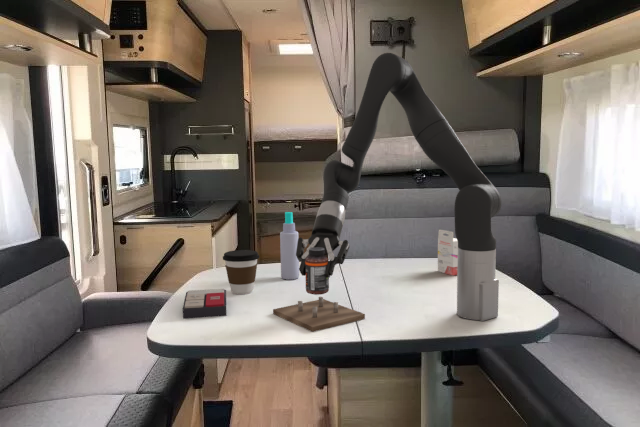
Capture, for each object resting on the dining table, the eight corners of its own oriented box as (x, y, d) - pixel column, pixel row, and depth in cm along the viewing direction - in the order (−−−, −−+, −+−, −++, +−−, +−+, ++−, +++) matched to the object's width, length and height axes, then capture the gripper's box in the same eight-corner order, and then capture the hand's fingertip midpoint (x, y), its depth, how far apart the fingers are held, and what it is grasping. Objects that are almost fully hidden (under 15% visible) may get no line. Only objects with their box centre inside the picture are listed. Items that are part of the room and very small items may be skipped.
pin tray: (364, 318, 136) (364, 304, 136) (312, 331, 127) (312, 316, 127) (322, 303, 151) (322, 290, 151) (273, 313, 142) (272, 299, 141)
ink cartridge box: (464, 274, 183) (465, 231, 181) (452, 276, 181) (453, 232, 179) (448, 269, 191) (448, 227, 189) (436, 271, 188) (437, 229, 187)
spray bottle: (292, 280, 177) (291, 213, 175) (277, 278, 180) (275, 213, 178) (302, 277, 182) (301, 211, 180) (287, 275, 185) (286, 211, 183)
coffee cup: (219, 290, 167) (217, 251, 165) (252, 285, 172) (251, 248, 170) (230, 298, 157) (229, 257, 156) (265, 293, 162) (264, 253, 160)
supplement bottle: (305, 289, 141) (304, 246, 140) (327, 288, 142) (327, 245, 140) (306, 295, 135) (305, 251, 134) (330, 295, 136) (329, 250, 134)
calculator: (182, 306, 138) (186, 288, 153) (183, 322, 139) (186, 303, 154) (226, 303, 140) (225, 286, 155) (226, 319, 141) (226, 301, 155)
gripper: (300, 212, 145) (284, 265, 136) (352, 214, 141) (339, 268, 131) (307, 228, 151) (292, 280, 141) (357, 231, 146) (345, 285, 137)
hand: (314, 274), depth 136 cm, fingers closed on supplement bottle, 6 cm apart
